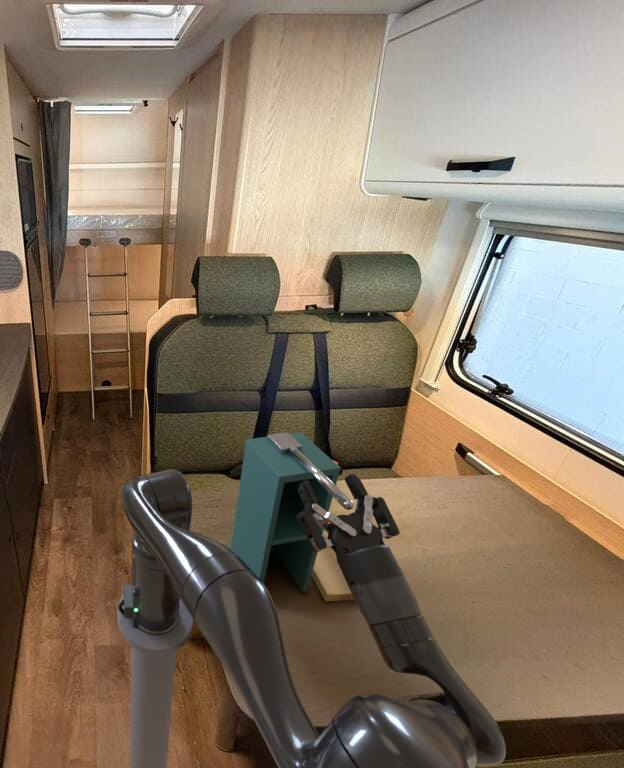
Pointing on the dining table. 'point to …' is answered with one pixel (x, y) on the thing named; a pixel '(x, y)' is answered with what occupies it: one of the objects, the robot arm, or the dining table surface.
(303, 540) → the shelf
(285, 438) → the metal spatula
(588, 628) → the dining table surface
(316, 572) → the cutting board
